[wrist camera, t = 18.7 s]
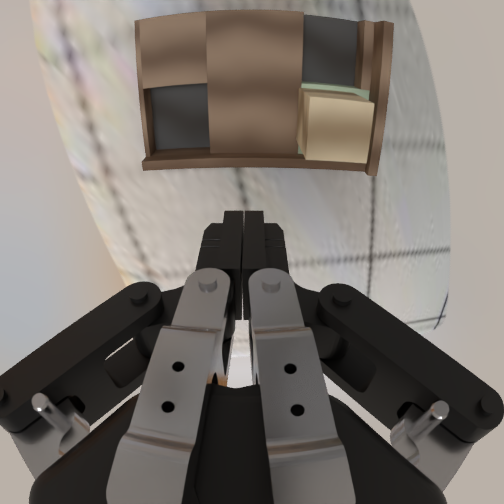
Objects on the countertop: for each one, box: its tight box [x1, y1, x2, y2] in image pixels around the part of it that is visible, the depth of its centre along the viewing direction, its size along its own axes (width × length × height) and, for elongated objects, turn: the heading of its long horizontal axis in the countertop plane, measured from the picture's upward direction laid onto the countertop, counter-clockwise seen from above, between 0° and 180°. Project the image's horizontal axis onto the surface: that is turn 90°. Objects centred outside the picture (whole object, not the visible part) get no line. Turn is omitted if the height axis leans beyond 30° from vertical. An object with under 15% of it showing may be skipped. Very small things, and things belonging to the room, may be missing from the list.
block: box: [296, 88, 374, 163], centre depth 26 cm, size 6×6×6 cm
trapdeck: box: [135, 10, 394, 176], centre depth 27 cm, size 16×24×5 cm, turn 90°
